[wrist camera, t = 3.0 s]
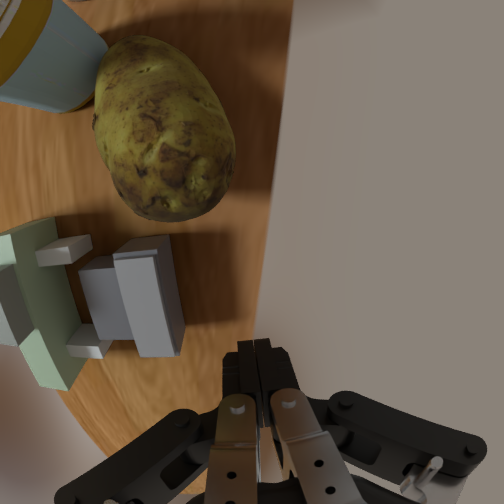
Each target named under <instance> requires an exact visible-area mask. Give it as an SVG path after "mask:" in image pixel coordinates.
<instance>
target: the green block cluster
mask: <svg viewBox="0 0 504 504" xmlns="http://www.w3.org/2000/svg"><path fill="white" fill-rule="evenodd" d="M92 249H93V246H92V241H91V236H90V234H88V235H81V236H74V237H68V238H61V239H58V234H57V228H56V223H55V217H50V218H46V219H41V220H36V221H32V222H28V223H25V224H22V225H20V226H17V227H14V228H12V229H9V230H7V231H4V232H2V233H0V344H5V345H12V346H19V347H20V349H21V351H22V353H23V355H24V357H25V359H26V361H27V363H28V365H29V367H30V369H31V371H32V373H33V374H34V376H35V378H36V380H37V381H38V383H39V385H40V386H42V387H48V388H53V389H58V390H64V391H69V390H70V388H71V386H72V385H73V383H74V381H75V379H76V378H77V376H78V374H79V372H80V371H81V369H82V367H83V366H84V364H85V362H86V361H87V359H88V358H99V359H103V358H104V356H105V354H106V352H107V351H108V349H109V347H110V345H111V344H112V342H113V340H99V337H98V335H97V332H96V329H95V326H94V324H82V322H81V319H80V316H79V313H78V310H77V307H76V304H75V301H74V298H73V295H72V291H71V288H70V284H69V281H68V277H67V273H66V269H65V265H64V264H72V263H73V262H75V261H76V260H78V259H79V258H80V257H82V256H83V255H85V254H86V253H88V252H89V251H91V250H92Z"/></svg>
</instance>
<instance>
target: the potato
mask: <svg viewBox="0 0 504 504" xmlns="http://www.w3.org/2000/svg"><path fill="white" fill-rule="evenodd" d="M93 117H94V119H93V123H92V124H93V126H92V127H93V130H94V131H95V139H96V143H97V147H98V149H99V152H100V155H101V157H102V159H103V161H104V163H105V164H106V166H107V168H108V169H109V171H110V173H111V177H112V180H113V183H114V185H115V188H116V190H117V191H118V193H119V195H120V197H121V198H122V200H123V201H124V202H125V203H126V204H127V205H128V206H129V207H130V208H131V209H132V210H133V211H134V212H135V213H136V214H137V215H139V216H142V217H144V218H147V219H149V220H155V221H161V222H181V221H185V220H189V219H193V218H196V217H199V216H201V215H203V214H205V213H207V212H209V211H210V210H211V209H213V208H214V207H215V206H216V205H217V204H218V203H219V202H220V200H221V199H222V197H223V196H224V194H225V193H226V191H227V189H228V187H229V184H230V181H231V178H232V175H233V173H234V171H233V169H234V166H235V159H236V146H235V138H234V135H233V132H232V129H231V127H230V124H229V122H228V120H227V117H226V114H225V112H224V109H223V106H222V104H221V102H220V100H219V99H218V97H217V96H216V94H215V93H214V91H213V90H212V88H211V86H210V84H209V83H208V81H207V79H206V78H205V76H204V75H203V74H202V73H201V71H200V70H199V69H198V68H197V67H196V65H195V64H194V63H193V62H192V61H191V60H190V59H189V58H188V57H187V56H186V55H185V54H184V53H183V52H181V51H180V50H178V49H177V48H175V47H174V46H172V45H170V44H168V43H165V42H163V41H161V40H158V39H156V38H153V37H149V36H144V35H132V36H128V37H125V38H123V39H121V40H119V41H118V42H116V43H115V44H114V45H112V46H111V47H110V48H109V49H108V50H107V51H106V53H105V54H104V56H103V57H102V59H101V61H100V64H99V67H98V71H97V76H96V85H95V113H94V116H93Z"/></svg>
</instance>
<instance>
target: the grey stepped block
mask: <svg viewBox="0 0 504 504" xmlns="http://www.w3.org/2000/svg"><path fill="white" fill-rule="evenodd" d="M78 273H79V277H80V281H81V284H82V288H83V291H84V295H85V298H86V302H87V305H88V308H89V311H90V314H91V317H92V320H93V323H94V326H95V329H96V332H97V335H98V337H99V340H135V343H136V346H137V349H138V352H139V355H140V357H175V356H180V351H181V347H182V342H183V337H184V333H185V328H186V327H185V322H184V317H183V313H182V307H181V302H180V297H179V292H178V286H177V281H176V275H175V269H174V263H173V257H172V250H171V243H170V237H169V235H160V236H151V237H142V238H133V239H130V240H129V241H128V242H127V243H125V244H124V245H123V246H122V247H120V248H119V249H118V250H117V251H115V252H114V253H113V255H108V256H99V257H95V258H94V259H93V260H91V261H90V262H89V263H87V264H86V265H85V266H84V267H82V268H81V269H80V270H79V271H78Z"/></svg>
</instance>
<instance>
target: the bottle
mask: <svg viewBox="0 0 504 504" xmlns="http://www.w3.org/2000/svg"><path fill="white" fill-rule="evenodd" d="M108 49H109V47H108V45H107V43H106V42H105V41H104V40H103V39H102V38H101V37H100V36H99V35H98V34H97V33H96V32H95V31H94V30H93V29H92V28H91V27H90V26H89V25H88V24H87V23H86V22H85V21H84V20H82V19H81V18H80V17H79V16H78V15H77V14H76V13H75V12H74V11H73V10H72V9H71V8H69V7H68V6H67V5H66V4H65V3H64V2H63V1H62V0H0V101H3V102H8V103H13V104H18V105H23V106H27V107H32V108H36V109H40V110H45V111H49V112H53V113H59V114H62V113H69V112H72V111H74V110H76V109H79V108H80V107H82V106H83V105H85V104H86V103H87V102H88V101H90V100H91V99H92V98H93V97H94V95H95V85H96V76H97V71H98V67H99V64H100V61H101V59H102V57H103V56H104V54H105V53H106V51H107V50H108Z"/></svg>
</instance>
